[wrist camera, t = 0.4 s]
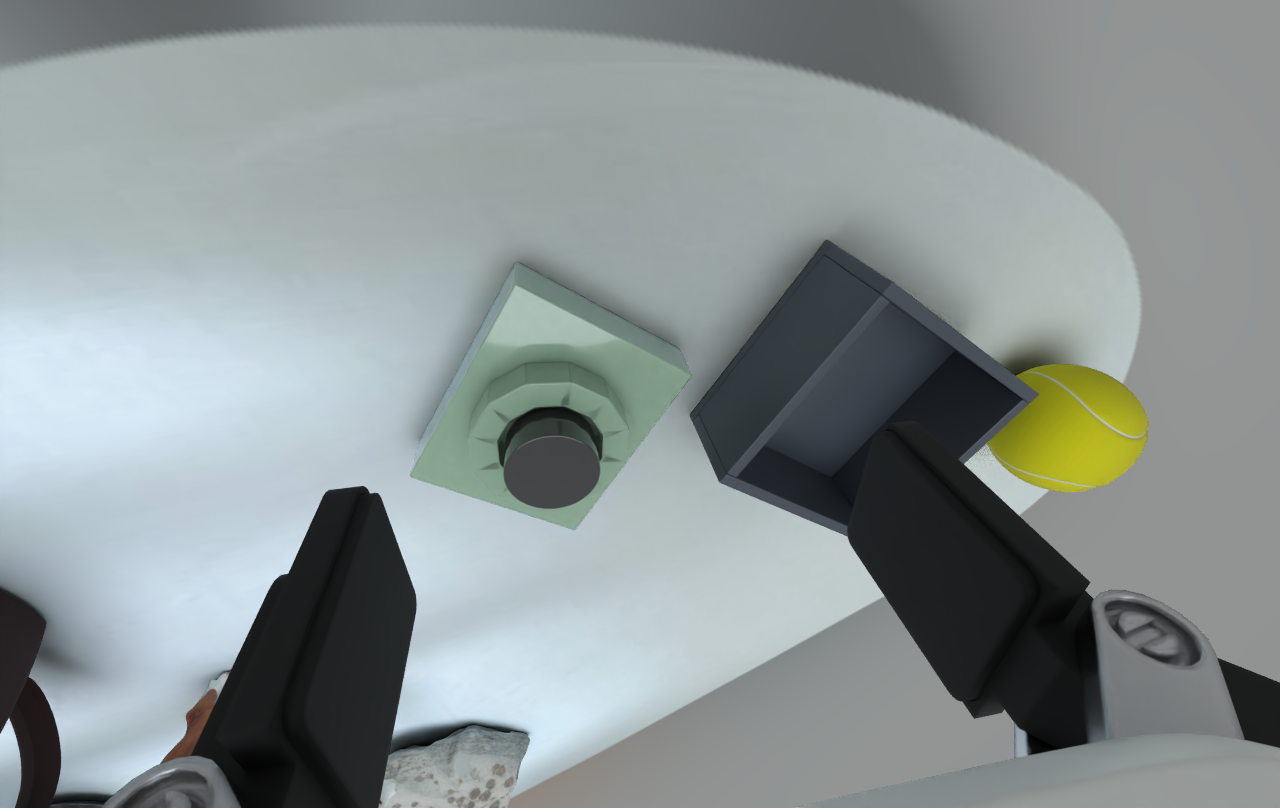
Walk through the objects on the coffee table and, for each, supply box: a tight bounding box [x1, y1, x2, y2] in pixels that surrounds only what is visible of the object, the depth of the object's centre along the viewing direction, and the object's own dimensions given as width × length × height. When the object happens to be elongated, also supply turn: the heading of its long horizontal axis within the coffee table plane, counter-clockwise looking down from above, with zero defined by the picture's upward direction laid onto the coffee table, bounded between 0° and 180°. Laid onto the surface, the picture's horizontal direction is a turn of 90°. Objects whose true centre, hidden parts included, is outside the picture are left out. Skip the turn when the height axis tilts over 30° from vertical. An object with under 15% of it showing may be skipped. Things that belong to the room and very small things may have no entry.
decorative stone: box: [383, 725, 530, 808], centre depth 42 cm, size 12×11×5 cm
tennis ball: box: [987, 364, 1148, 492], centre depth 30 cm, size 7×7×7 cm
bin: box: [690, 240, 1039, 536], centre depth 28 cm, size 11×11×6 cm
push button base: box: [410, 262, 692, 530], centre depth 26 cm, size 11×9×4 cm
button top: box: [503, 408, 601, 509], centre depth 23 cm, size 4×4×2 cm
